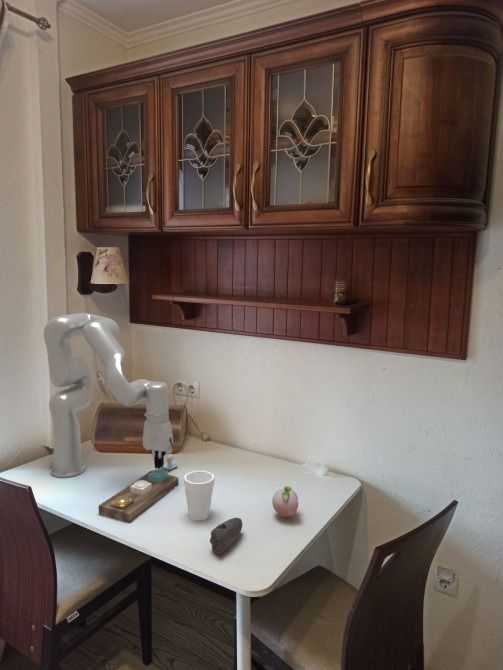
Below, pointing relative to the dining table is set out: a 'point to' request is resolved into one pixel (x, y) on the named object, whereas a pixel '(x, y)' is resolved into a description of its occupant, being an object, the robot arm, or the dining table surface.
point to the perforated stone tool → (225, 534)
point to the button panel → (138, 499)
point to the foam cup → (199, 494)
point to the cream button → (141, 487)
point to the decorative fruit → (285, 502)
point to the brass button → (122, 502)
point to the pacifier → (169, 463)
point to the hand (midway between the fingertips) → (159, 467)
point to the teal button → (158, 475)
